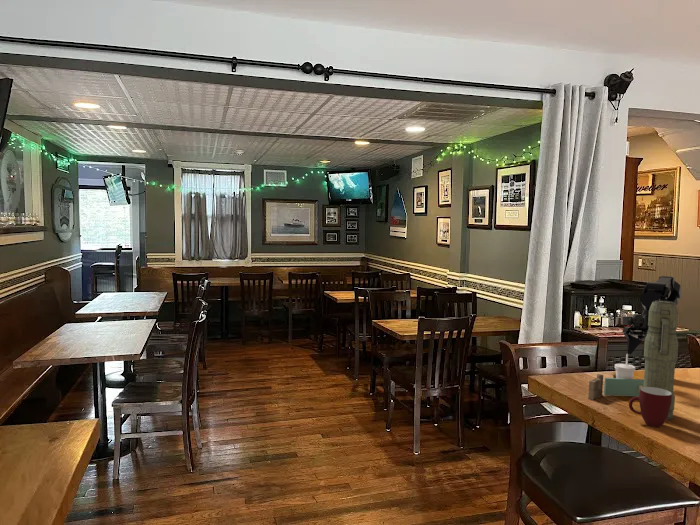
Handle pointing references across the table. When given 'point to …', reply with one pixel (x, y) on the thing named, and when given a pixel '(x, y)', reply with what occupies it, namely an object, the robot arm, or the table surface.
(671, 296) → the robot arm
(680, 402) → the table surface
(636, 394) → the green block
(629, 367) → the smoothie
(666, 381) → the thermos
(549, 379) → the table surface
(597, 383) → the brown block
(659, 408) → the mug
